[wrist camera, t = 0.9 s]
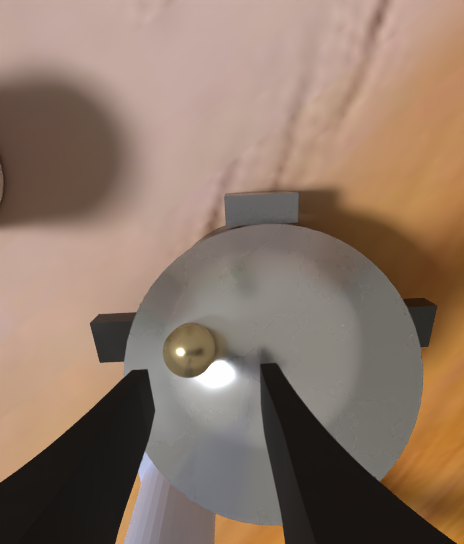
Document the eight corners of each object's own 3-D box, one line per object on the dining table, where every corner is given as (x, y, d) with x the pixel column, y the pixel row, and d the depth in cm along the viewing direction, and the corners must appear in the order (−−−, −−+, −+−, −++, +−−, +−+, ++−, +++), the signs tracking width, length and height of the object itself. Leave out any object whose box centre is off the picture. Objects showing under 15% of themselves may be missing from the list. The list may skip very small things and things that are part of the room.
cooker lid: (416, 498, 14) (450, 539, 12) (138, 510, 14) (121, 553, 12) (397, 221, 14) (427, 210, 12) (127, 235, 14) (108, 227, 12)
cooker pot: (384, 374, 23) (415, 412, 19) (133, 386, 23) (114, 427, 19) (416, 183, 18) (467, 183, 14) (94, 201, 18) (57, 205, 14)
